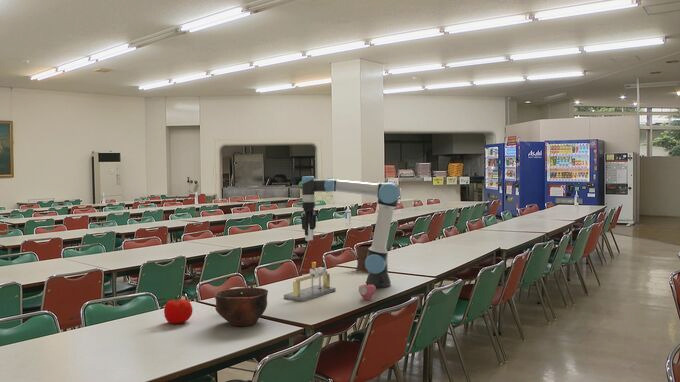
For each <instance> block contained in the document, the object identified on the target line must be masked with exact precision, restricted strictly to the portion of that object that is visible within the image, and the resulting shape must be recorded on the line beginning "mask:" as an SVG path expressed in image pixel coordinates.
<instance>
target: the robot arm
mask: <svg viewBox="0 0 680 382" xmlns="http://www.w3.org/2000/svg"><path fill="white" fill-rule="evenodd" d="M317 192H320V193H323V192H327V193H329V192H336V193H346V194H347V193H348V194H353V195H354V194H355V195H362V196H363V195H364V196H372V197H376V198H377V202H376V203H377V205H378V211H377V215H376V216H377V217H376V222H375V228H374V233H373V237H372V242H371V243H372V246H371V247H370V248H369V249H368V254H367V258H366V260H365V266H366V269H367V270H368V271H369V272H368V275H367V279H366V281H367V283H368V284H369V285H371V284H372V285H374V286H375V287H376V289H377V288H378V289H379V288H388V287H390V286H391V283H392V281H391V278H390V276H389V273H388V269H389V268H388V267H389V266H388V261H389V260H388V254H389V252H388V249H387V247H388V240H389V235H390V231H391V230H390V229H391V224H392V219H393V214H394V210H395V209H396V208H397V206H398V203H399V197H400V196H401V195H400V194H401V189H400V187H399V185H398V184H396V182H391V181H389V182H381V181H380V182H378V183H372V182H365V181H364V182H363V181H362V182H361V181H355V180H345V179H336V178H335V179H334V178H320V179H316V178H315V176H314V175H306V176H304V175H303V176H302V177H301V197H302V198H301V200H302V203H301V204H302V206H301V207H302V209H303V211H302V213H300V219H301V220H300V221H301V229H302V230H303V231H304V235H305V236H304V238H305V241H307V242H310V241H314V230H315V229H316V227H317V226H316V225H317V215H318V212H317V211H315V210H314V209H315V207H316V206H315V205H316V203H315V200H316V199H315V198H316V197H315V193H317Z"/></svg>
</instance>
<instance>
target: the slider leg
mask: <svg viewBox="0 0 680 382" xmlns="http://www.w3.org/2000/svg"><path fill="white" fill-rule="evenodd" d="M312 274H314V278H311V279H310V281H311V282H310V284H311V286H310V287H311V290H313V286H314V280H315V279H319V276H318V269H317V262H316V261H311V268H310V269H309V275H312Z"/></svg>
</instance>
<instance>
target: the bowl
mask: <svg viewBox="0 0 680 382" xmlns="http://www.w3.org/2000/svg"><path fill="white" fill-rule="evenodd" d="M241 292H242V294H241ZM268 293H269V290H268V289H266V288H262V287H261V288H260V287H244V288H237V289H231V288H229V289H224V290H220V291H219V290H218V291H217V292H215V293H214V294H213V296H214V299H215V306H214V307H215V311H216V313H217V314H218V315H219V316H220V317H222V318H223V319H224V320H225V321H227V322H228V324H229V323H230V324H231V325H232V326H235V327H249V326H252V325H254V324H256V323H258V320H259V319H260V318H261V317H262V315H263V314H264V312H265V311H266V309H267V307H268Z"/></svg>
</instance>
